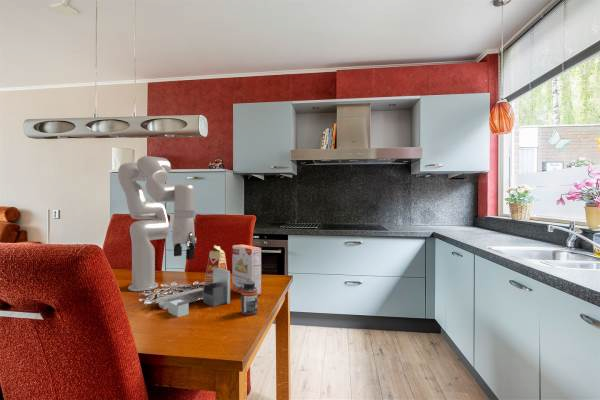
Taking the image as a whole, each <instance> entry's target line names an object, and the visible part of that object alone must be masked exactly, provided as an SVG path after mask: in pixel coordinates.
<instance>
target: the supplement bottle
mask: <svg viewBox="0 0 600 400" xmlns="http://www.w3.org/2000/svg"><path fill="white" fill-rule="evenodd" d="M257 292H258V291H257V288H256V287H255V282H254V281H246V282H244V287H243V288H242V290H241V293H240V306H241V307H240V308H241V309H240V312H241V314H242V315H244V316H254V315H256V314H257V313H258V303H259V302H258V296H259V295H257V294H258V293H257Z"/></svg>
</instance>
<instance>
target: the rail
mask: <svg viewBox="0 0 600 400" xmlns="http://www.w3.org/2000/svg"><path fill="white" fill-rule="evenodd" d="M178 296H179V299H180V300H182V301H186V300H189V304H190V303H194V302H196V301H199V300H198V299H199V298H203V287H198V288H194V289H189V290H185V291H182V292H176V293H173V294H172V293H171V294H168V295H164V296H160V297H159V299H158V302H159V303H158V306H159V308H160V309H163V310H166V309H167V310H168V299H170V298H174V297H178Z"/></svg>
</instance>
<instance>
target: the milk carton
mask: <svg viewBox="0 0 600 400" xmlns="http://www.w3.org/2000/svg"><path fill="white" fill-rule="evenodd" d="M208 254H209V255H208V260H207V265H206V266H207V267H206V272H205V276H204V277H205V278H204V283H203V285H207V284H211V283H213V268H215V267H216V268H220V269H224V270H228V266H227V259H226V253H225V251H224V250H223V249H222V248H221V246H220V245H219V246H218V245H216V244H214V245H213V248H211V250H209V253H208Z"/></svg>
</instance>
